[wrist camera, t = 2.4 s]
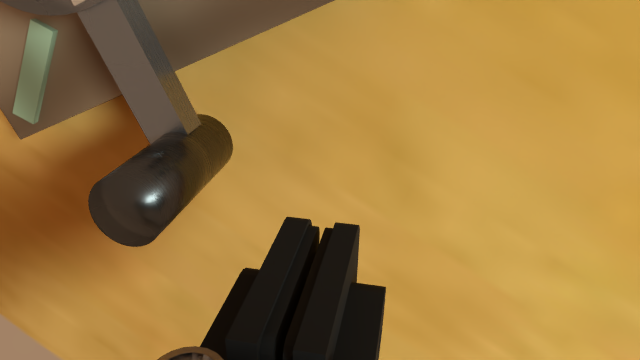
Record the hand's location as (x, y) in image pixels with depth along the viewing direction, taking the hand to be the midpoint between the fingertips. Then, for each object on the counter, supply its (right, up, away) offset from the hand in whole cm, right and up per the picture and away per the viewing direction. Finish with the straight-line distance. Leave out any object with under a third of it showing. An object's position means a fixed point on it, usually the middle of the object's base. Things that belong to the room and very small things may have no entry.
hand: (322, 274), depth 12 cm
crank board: (-8, +13, +8) cm, 18 cm away
